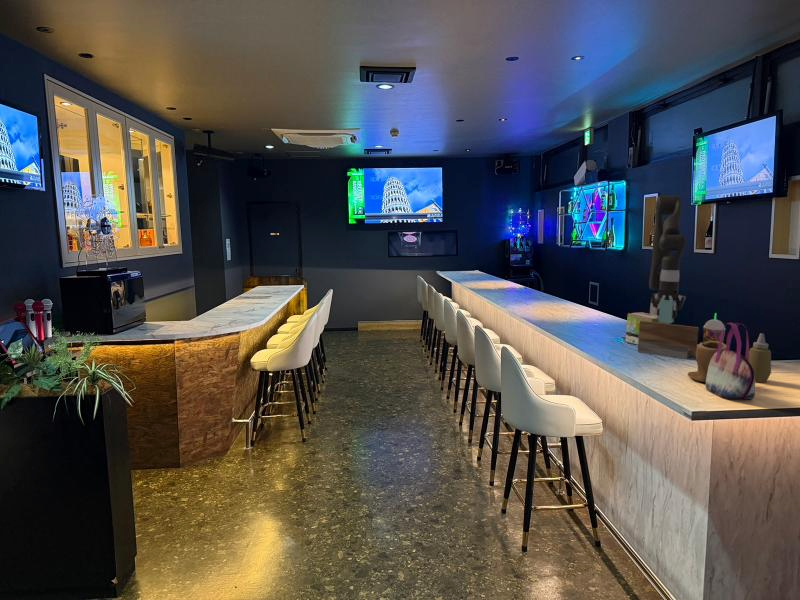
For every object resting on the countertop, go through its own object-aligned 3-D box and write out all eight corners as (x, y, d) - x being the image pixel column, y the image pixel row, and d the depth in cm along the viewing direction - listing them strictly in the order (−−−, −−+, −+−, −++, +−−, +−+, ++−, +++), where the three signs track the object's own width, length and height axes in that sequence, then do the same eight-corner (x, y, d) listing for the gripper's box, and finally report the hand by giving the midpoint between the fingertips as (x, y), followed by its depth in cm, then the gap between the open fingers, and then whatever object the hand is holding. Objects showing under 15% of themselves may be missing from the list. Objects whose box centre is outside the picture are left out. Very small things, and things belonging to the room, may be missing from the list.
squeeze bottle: (770, 385, 191) (776, 336, 189) (744, 381, 195) (749, 334, 193) (769, 379, 198) (774, 333, 195) (743, 376, 202) (748, 330, 200)
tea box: (624, 342, 261) (626, 312, 259) (639, 340, 265) (641, 311, 263) (650, 348, 248) (652, 317, 245) (665, 346, 252) (667, 316, 250)
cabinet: (661, 320, 239) (663, 294, 237) (673, 321, 235) (675, 295, 234) (658, 322, 234) (660, 295, 233) (670, 323, 231) (673, 296, 230)
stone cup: (700, 386, 190) (704, 345, 187) (682, 376, 201) (686, 338, 199) (742, 386, 190) (746, 345, 188) (722, 376, 201) (725, 338, 199)
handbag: (695, 385, 191) (701, 317, 187) (722, 384, 191) (728, 317, 188) (734, 405, 170) (742, 329, 166) (764, 404, 170) (773, 329, 166)
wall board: (638, 347, 249) (640, 320, 247) (696, 355, 234) (698, 327, 232) (633, 351, 241) (635, 323, 240) (691, 360, 226) (694, 330, 225)
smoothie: (702, 359, 228) (706, 314, 225) (699, 355, 235) (703, 311, 233) (724, 361, 225) (728, 315, 222) (720, 356, 232) (725, 312, 230)
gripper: (689, 280, 231) (686, 318, 233) (654, 278, 240) (651, 314, 242) (685, 281, 225) (682, 320, 227) (649, 279, 234) (647, 317, 236)
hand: (666, 317), depth 235 cm, fingers closed on cabinet, 5 cm apart
